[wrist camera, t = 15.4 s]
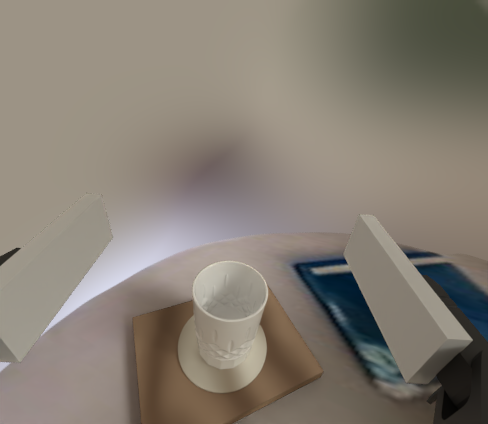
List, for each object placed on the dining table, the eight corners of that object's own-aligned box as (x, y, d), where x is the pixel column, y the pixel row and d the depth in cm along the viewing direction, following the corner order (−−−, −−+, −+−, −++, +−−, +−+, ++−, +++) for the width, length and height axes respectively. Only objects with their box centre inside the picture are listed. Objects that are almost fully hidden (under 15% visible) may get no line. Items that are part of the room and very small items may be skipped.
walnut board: (262, 286, 41) (264, 278, 40) (320, 377, 30) (324, 370, 29) (134, 324, 33) (132, 316, 32) (146, 468, 22) (144, 462, 21)
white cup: (254, 380, 27) (268, 327, 22) (184, 370, 27) (181, 314, 22) (257, 318, 34) (268, 265, 29) (200, 310, 34) (202, 256, 29)
